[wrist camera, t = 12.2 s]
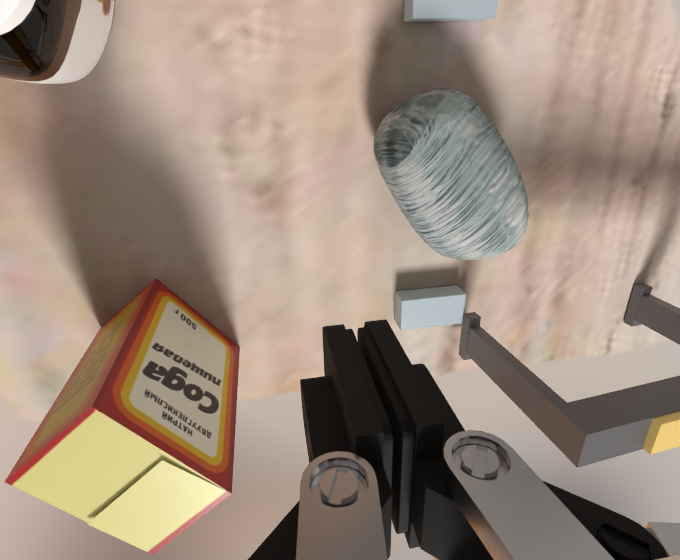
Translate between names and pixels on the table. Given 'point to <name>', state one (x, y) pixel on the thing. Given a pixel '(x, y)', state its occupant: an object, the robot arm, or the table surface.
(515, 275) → the table surface
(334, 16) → the table surface
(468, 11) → the pale blue block pair
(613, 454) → the gray arch frame
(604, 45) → the table surface
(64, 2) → the spread jar
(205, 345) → the baking soda box
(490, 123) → the gray yarn ball
